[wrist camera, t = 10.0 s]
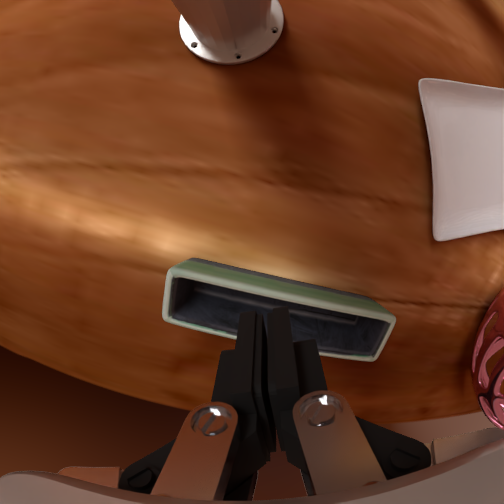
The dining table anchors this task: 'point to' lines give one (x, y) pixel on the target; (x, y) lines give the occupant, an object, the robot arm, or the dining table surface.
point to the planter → (273, 296)
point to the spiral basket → (481, 352)
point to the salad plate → (465, 156)
